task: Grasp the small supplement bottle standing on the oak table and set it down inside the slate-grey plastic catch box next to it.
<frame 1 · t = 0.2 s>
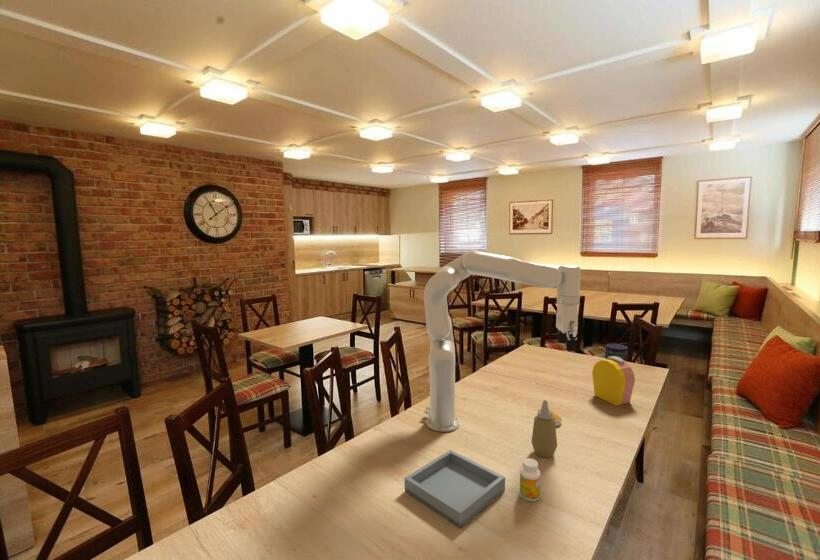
hand: (566, 346, 140), 31 cm above the table, tool pointing down, fingers open, 9 cm apart
catch box: (454, 490, 110), on the table
bread roll: (549, 422, 149), on the table
squeeze bottle: (543, 454, 128), on the table
storage jar: (615, 375, 196), on the table
supplement bottle: (529, 495, 108), on the table
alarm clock: (612, 399, 169), on the table
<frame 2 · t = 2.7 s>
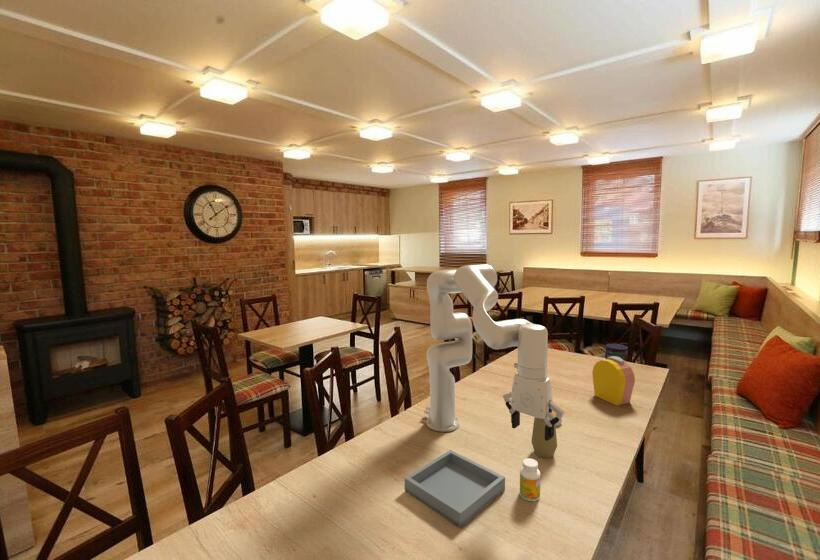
hand: (531, 432, 105), 18 cm above the table, tool pointing down, fingers open, 9 cm apart
nothing on the table moved.
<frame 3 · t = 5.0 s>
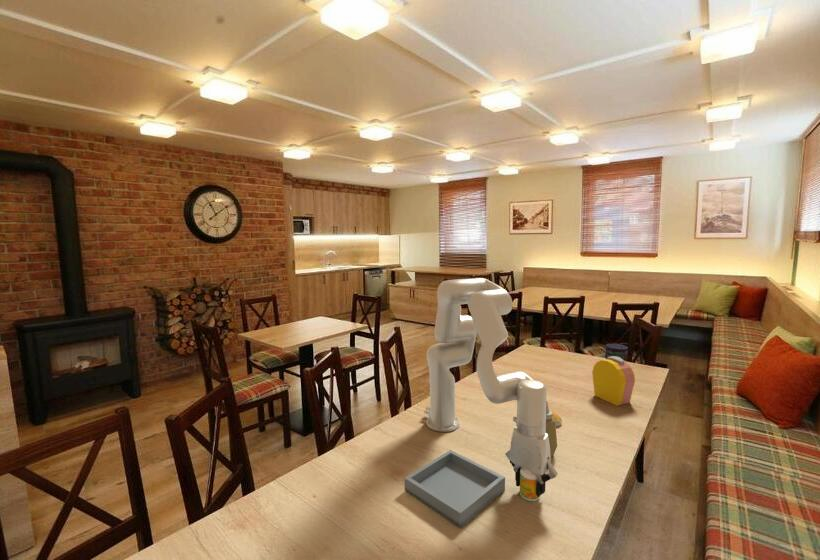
hand: (529, 488, 107), 2 cm above the table, tool pointing down, fingers closed on supplement bottle, 5 cm apart
supplement bottle: (529, 495, 108), on the table, touching gripper
everything else where it was.
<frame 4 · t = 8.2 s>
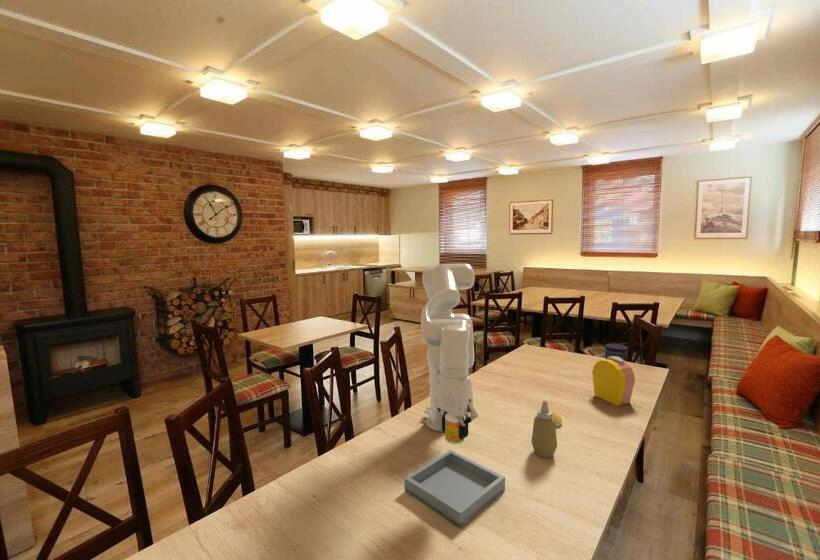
hand: (454, 432, 108), 17 cm above the table, tool pointing down, fingers closed on supplement bottle, 5 cm apart
supplement bottle: (454, 440, 108), point 15 cm above the table, touching gripper
everything else where it was.
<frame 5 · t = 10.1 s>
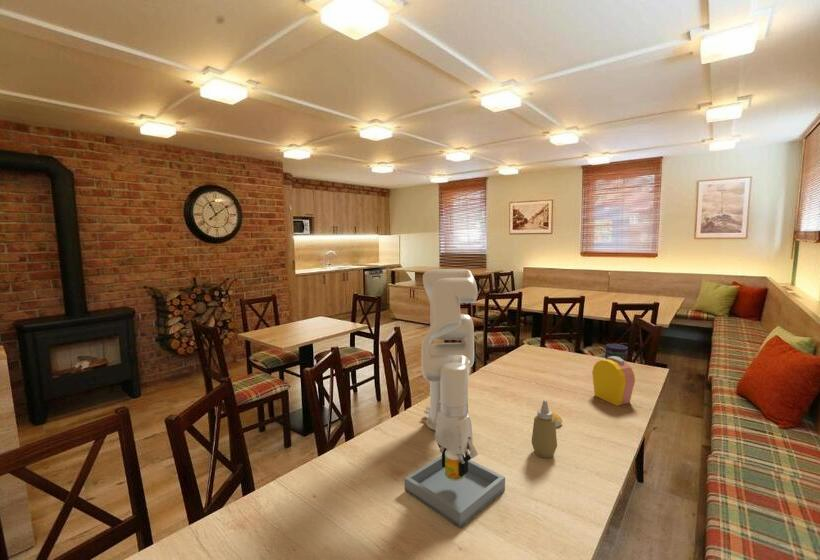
hand: (454, 469, 109), 7 cm above the table, tool pointing down, fingers closed on supplement bottle, 5 cm apart
supplement bottle: (454, 476, 109), point 4 cm above the table, touching gripper
everything else where it was.
when the fingers open (4 cm above the table, at t = 11.4 s): supplement bottle drops 1 cm, resting on catch box.
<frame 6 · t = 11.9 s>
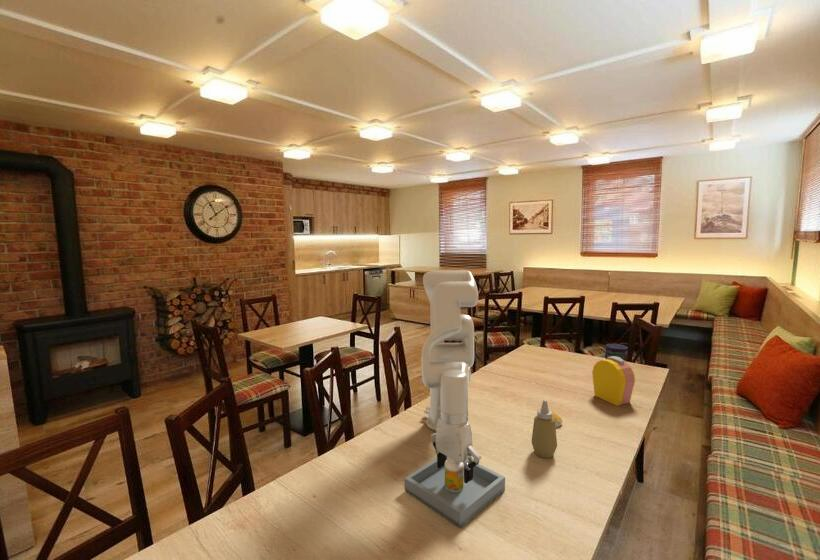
hand: (454, 473, 109), 5 cm above the table, tool pointing down, fingers open, 9 cm apart
supplement bottle: (454, 487, 110), point 1 cm above the table, touching catch box
everything else where it was.
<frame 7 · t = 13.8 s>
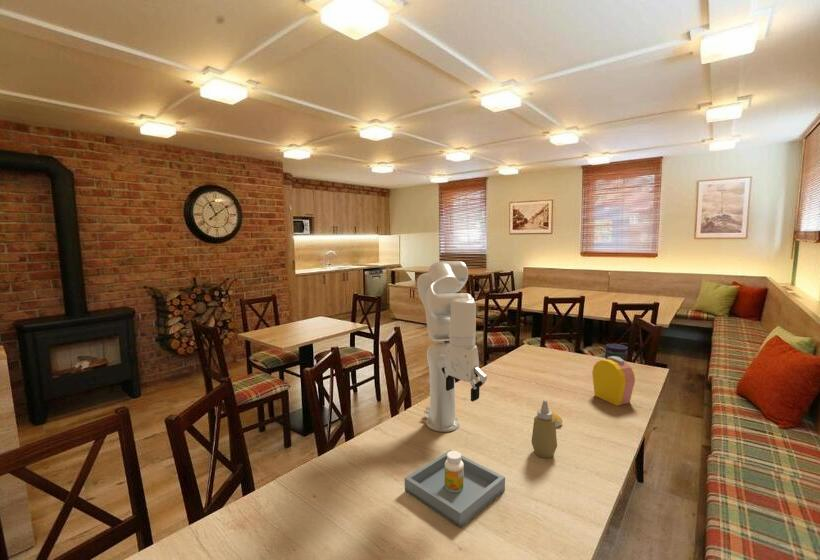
hand: (462, 394, 118), 24 cm above the table, tool pointing down, fingers open, 9 cm apart
nothing on the table moved.
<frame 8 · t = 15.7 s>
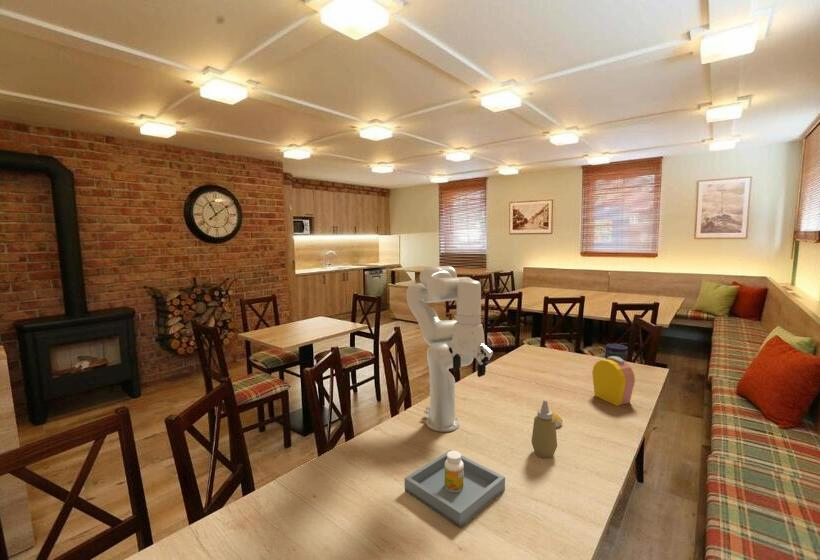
hand: (468, 371, 124), 28 cm above the table, tool pointing down, fingers open, 9 cm apart
nothing on the table moved.
at the end: supplement bottle inside the target area on the catch box (0.3 cm from its centre), point 0.8 cm above the catch box's base; the gripper is holding nothing; supplement bottle tilted 0° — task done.
